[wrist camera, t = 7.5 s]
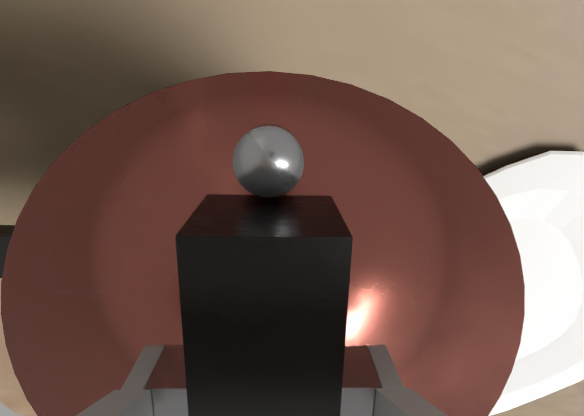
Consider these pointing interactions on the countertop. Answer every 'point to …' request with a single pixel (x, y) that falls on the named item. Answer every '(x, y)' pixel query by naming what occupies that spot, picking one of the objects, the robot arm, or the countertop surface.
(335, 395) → the lid
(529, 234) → the plate
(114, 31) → the countertop surface
